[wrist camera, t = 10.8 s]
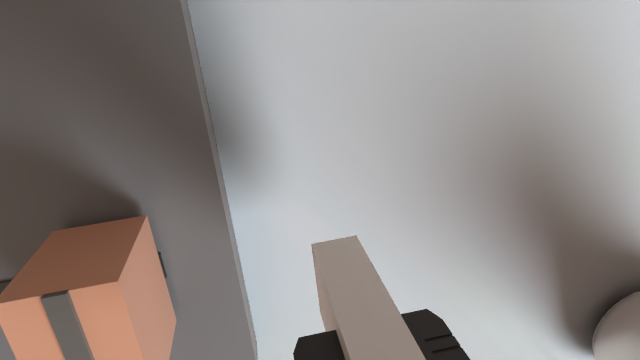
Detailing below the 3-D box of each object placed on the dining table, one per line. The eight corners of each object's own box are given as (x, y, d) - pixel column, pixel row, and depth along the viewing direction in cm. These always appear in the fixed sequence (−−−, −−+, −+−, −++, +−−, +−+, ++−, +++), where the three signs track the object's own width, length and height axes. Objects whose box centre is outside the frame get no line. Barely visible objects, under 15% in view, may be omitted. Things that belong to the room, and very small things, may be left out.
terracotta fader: (53, 231, 14) (-13, 308, 11) (147, 214, 15) (116, 284, 11) (93, 337, 16) (49, 437, 12) (176, 320, 16) (158, 412, 13)
